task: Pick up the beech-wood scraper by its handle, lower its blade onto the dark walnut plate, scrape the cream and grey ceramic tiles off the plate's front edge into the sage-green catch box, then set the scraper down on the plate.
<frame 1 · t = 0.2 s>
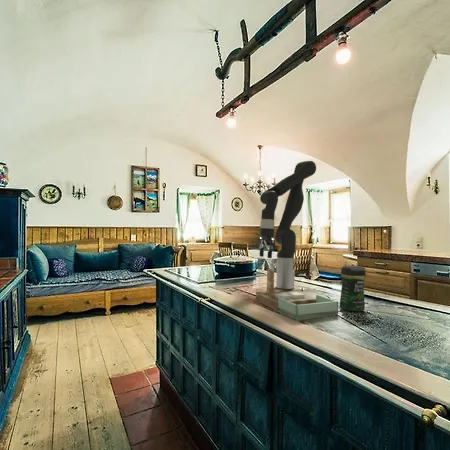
hand: (265, 257, 161), 18 cm above the table, tool pointing down, fingers open, 8 cm apart
cream tile: (296, 296, 131), point 3 cm above the table, touching walnut plate
catch box: (307, 313, 118), on the table
grey tile: (282, 298, 128), point 3 cm above the table, touching walnut plate
walnut plate: (286, 304, 131), on the table
scraper: (270, 297, 144), on the table
coffee jar: (352, 310, 125), on the table
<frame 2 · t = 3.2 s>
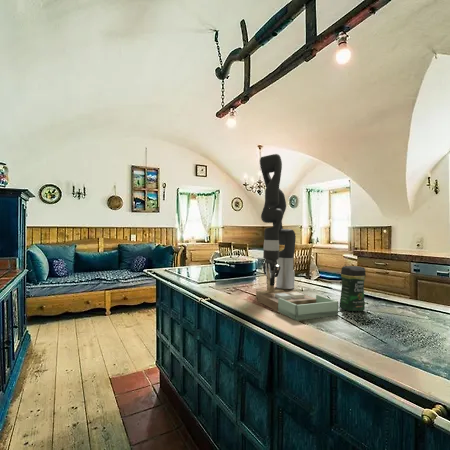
hand: (270, 284, 144), 6 cm above the table, tool pointing down, fingers closed on scraper, 2 cm apart
scraper: (270, 297, 144), on the table, touching gripper
everything else where it was.
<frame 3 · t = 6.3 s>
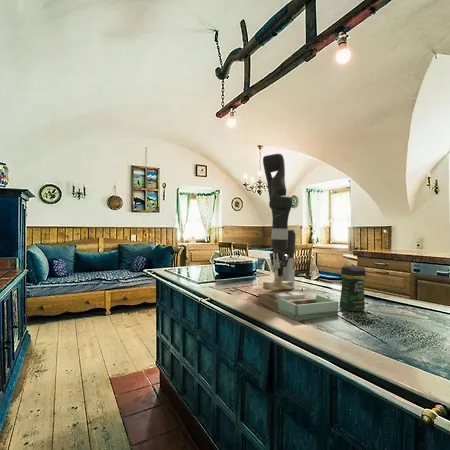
hand: (278, 275, 137), 12 cm above the table, tool pointing down, fingers closed on scraper, 2 cm apart
scraper: (277, 288, 137), point 6 cm above the table, touching gripper
everything else where it was.
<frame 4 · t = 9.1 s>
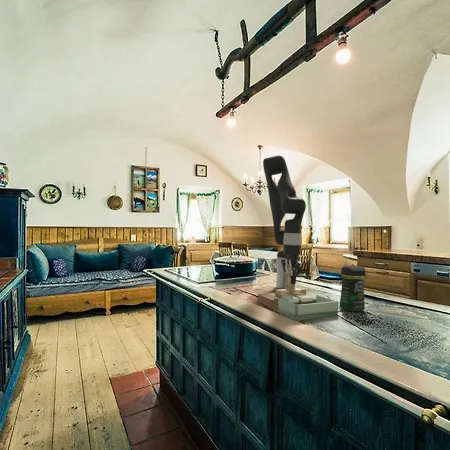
hand: (291, 283, 128), 10 cm above the table, tool pointing down, fingers closed on scraper, 2 cm apart
cream tile: (303, 299, 126), point 4 cm above the table, touching scraper
grey tile: (290, 301, 123), point 4 cm above the table, touching scraper, walnut plate
scraper: (290, 296, 128), point 4 cm above the table, touching cream tile, grey tile, gripper
everything else where it was.
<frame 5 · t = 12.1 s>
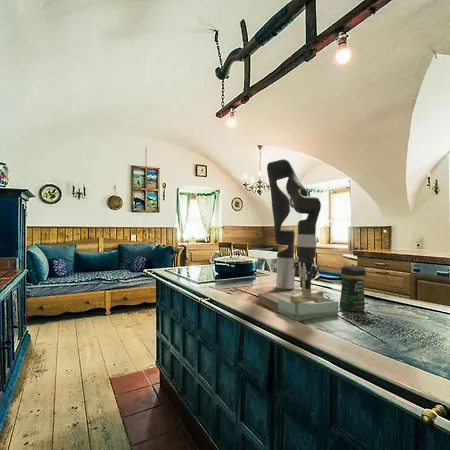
hand: (305, 288, 120), 10 cm above the table, tool pointing down, fingers closed on scraper, 2 cm apart
cream tile: (309, 305, 122), point 2 cm above the table, touching catch box
grey tile: (295, 307, 120), point 2 cm above the table, touching catch box
scraper: (307, 300, 120), point 5 cm above the table, tilted 6°, touching gripper
everything else where it was.
when the fingers open (10 cm above the table, at t = 14.4 s): scraper drops 3 cm, resting on walnut plate.
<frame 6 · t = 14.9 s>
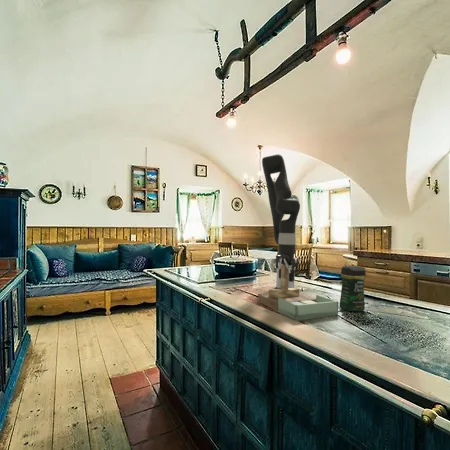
hand: (286, 279, 132), 11 cm above the table, tool pointing down, fingers open, 7 cm apart
scraper: (284, 296, 132), point 3 cm above the table, touching walnut plate
everything else where it was.
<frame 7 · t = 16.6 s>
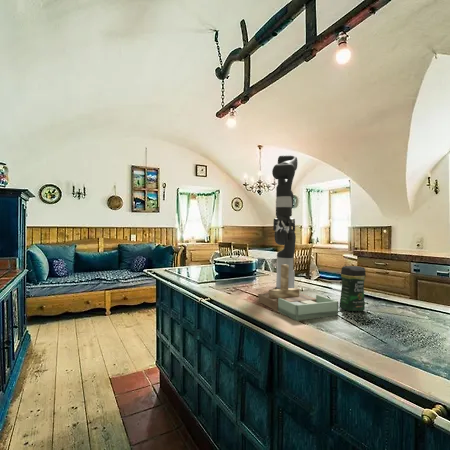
hand: (283, 240, 141), 28 cm above the table, tool pointing down, fingers open, 8 cm apart
nothing on the table moved.
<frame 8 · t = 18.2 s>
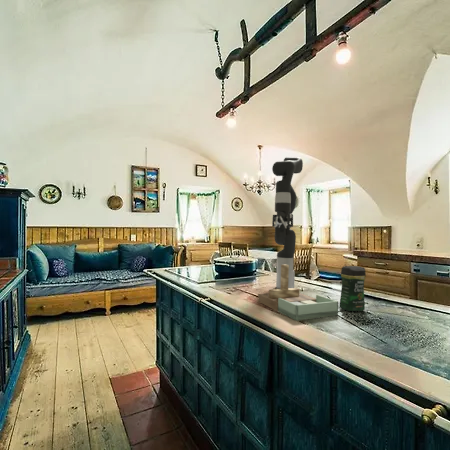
hand: (281, 235, 143), 30 cm above the table, tool pointing down, fingers open, 8 cm apart
nothing on the table moved.
at the end: cream tile inside the target area (5.6 cm from its centre), point 2.0 cm above the table; grey tile inside the target area (5.5 cm from its centre), point 2.0 cm above the table; the gripper is holding nothing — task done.
